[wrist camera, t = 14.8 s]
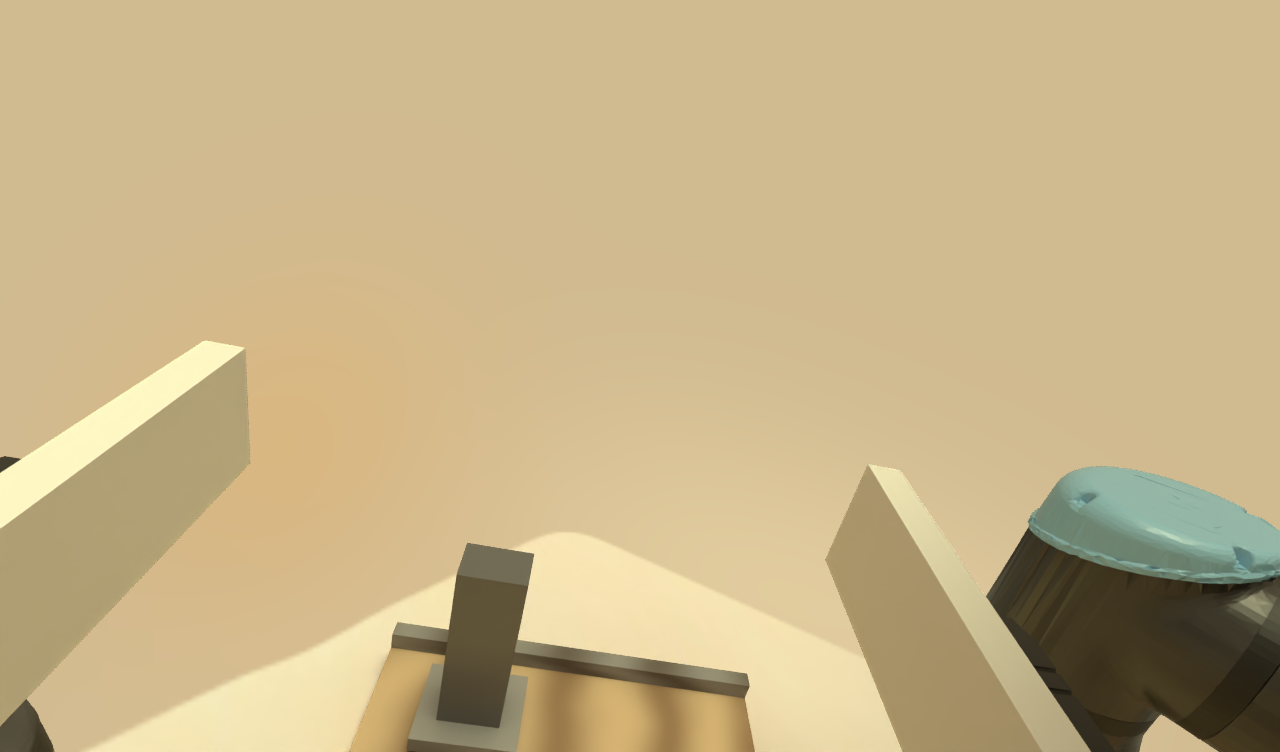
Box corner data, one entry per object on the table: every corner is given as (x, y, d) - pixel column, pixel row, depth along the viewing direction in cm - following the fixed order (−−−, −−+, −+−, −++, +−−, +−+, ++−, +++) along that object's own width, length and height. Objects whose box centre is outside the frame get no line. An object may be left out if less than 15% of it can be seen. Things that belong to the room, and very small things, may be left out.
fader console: (731, 706, 47) (747, 668, 45) (760, 878, 37) (782, 837, 35) (394, 659, 44) (398, 616, 42) (327, 831, 34) (329, 784, 32)
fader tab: (525, 687, 41) (558, 541, 36) (513, 763, 37) (548, 608, 32) (430, 674, 40) (450, 523, 35) (406, 750, 36) (425, 589, 31)
